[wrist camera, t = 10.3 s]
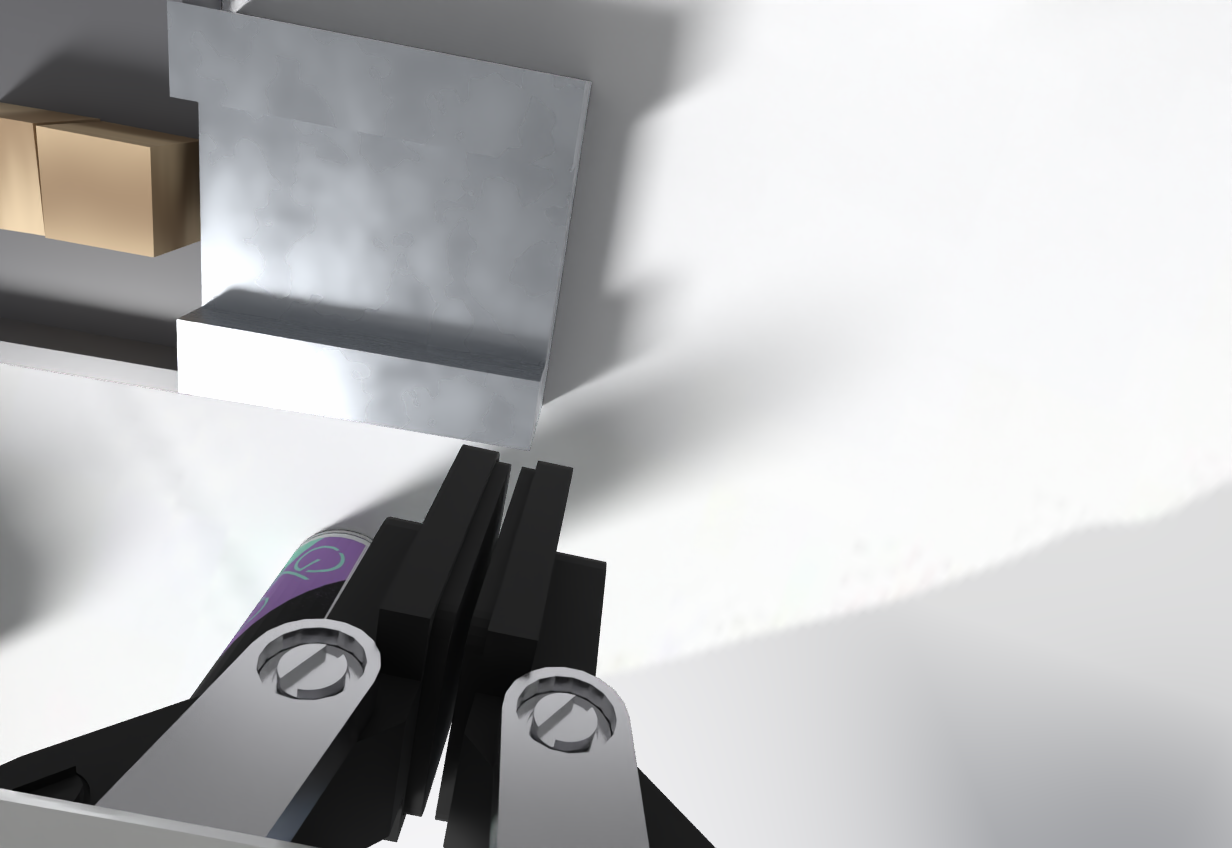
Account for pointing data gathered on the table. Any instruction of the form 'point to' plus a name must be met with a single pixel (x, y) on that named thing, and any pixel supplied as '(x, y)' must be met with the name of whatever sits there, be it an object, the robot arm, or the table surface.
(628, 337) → the table surface
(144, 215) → the light brown cube
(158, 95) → the tray
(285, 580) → the spray can
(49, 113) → the tan cardboard cube
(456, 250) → the slot block
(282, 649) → the robot arm
